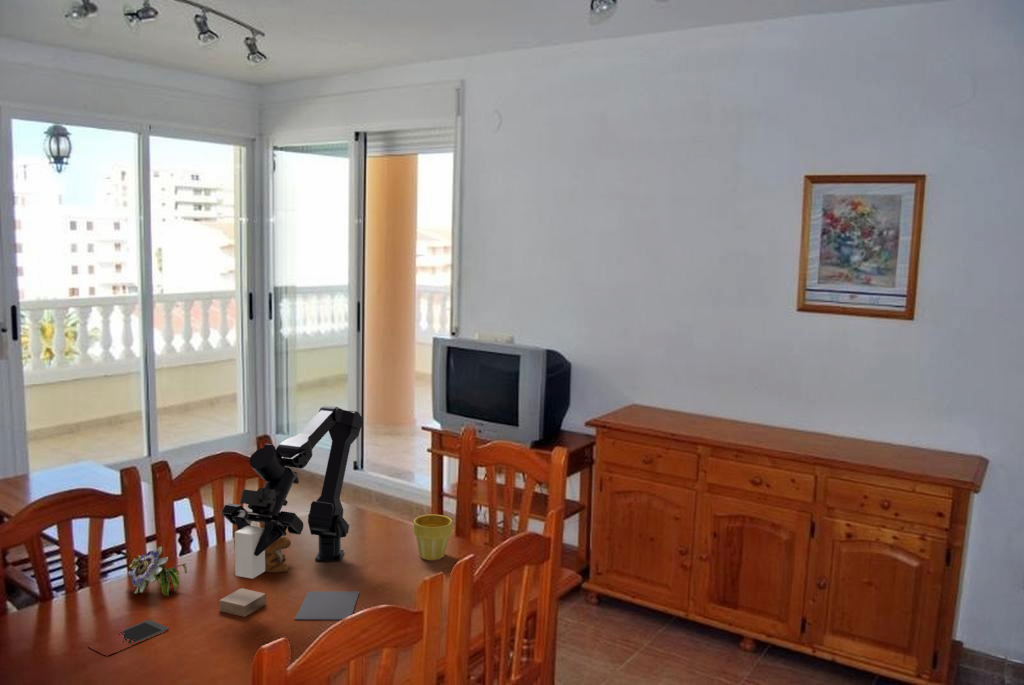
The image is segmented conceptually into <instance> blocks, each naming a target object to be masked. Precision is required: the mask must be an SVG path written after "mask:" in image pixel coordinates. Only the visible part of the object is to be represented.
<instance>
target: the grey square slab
mask: <svg viewBox="0 0 1024 685" xmlns="http://www.w3.org/2000/svg"><path fill="white" fill-rule="evenodd" d="M266 596H267V593H264V592H260V591H256V590H251V589H247V588H243V587H242V588H241V587H240V588H238V589H236V590H235V591H233V592H232V593H229V594H228V595H227V596H224V597H223V598H221V599H219V612H224V613H227V614H231V615H235V616H240V617H244V618H245V617H247V616H248V615H251V614H252V613H254V612H255V611H257V610H259V609H260V608H263V607H264V606H266V604H267V597H266Z"/></svg>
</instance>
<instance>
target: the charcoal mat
mask: <svg viewBox="0 0 1024 685" xmlns="http://www.w3.org/2000/svg"><path fill="white" fill-rule="evenodd" d="M359 595H360V591H357V590H355V591H351V590H350V591H341V590H340V591H337V590H335V591H334V590H333V591H331V590H330V591H327V590H326V591H323V590H322V591H317V590H315V591H313V590H312V591H307V594H306V595H305V597H304V599H303V601H302V604H301V605H300V608H299V609H298V611H297V613H296V615H295V617H294V620H295V621H342V620H341V619H343V618H345V617H347V616H349V615H351V614H352V615H353V612H354V610H355V607H356V604H357V601H358V598H359Z"/></svg>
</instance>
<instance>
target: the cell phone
mask: <svg viewBox="0 0 1024 685" xmlns="http://www.w3.org/2000/svg"><path fill="white" fill-rule="evenodd" d="M168 629H169V630H170V628H168V627H167V626H166V625H163V624H161V623H158V622H157V623H156V621H154V620H152V619H147V620H144V621H141V622H139V623H136V624H134V625H132V626H129V627H127V628H125V629H123V630H124V631H123V633H125V634H123V633H122V632H120V631H119V632H120V633H122V634H123V635H124V639H125V640H126V641H127V639H130V640H129V642H128V643H130V644H131V640H133V641H134V642H135V643H137V641H139V642H140V641H142V640H144V639H147V638H149V637H152V636H153V635H156V634H158V633H161V632H163V631H166V630H168ZM169 630H168V631H169ZM119 635H120V634H119ZM126 638H127V639H126ZM134 639H135V640H134ZM123 642H124V641H123Z"/></svg>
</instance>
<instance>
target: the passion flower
mask: <svg viewBox="0 0 1024 685" xmlns="http://www.w3.org/2000/svg"><path fill="white" fill-rule="evenodd" d="M163 550H164V549H163V546H158V547H157V549H156V550H154V549H153V550H149V551H148V552H145V554H142V555H140V554H137V555H136V557H134V558H133V559H132V562H131V563H130V565H129V568H130V569H129V571H127V574H128V575H129V578H130V580H131V584H132V585H133V586H132V587H133V588H136V589H135V590H134V592H133V594H135V595H138V594H139V593H141V594H142V593H144V592H146V590H147V589H148V586H149V583H150V584H152V583H153V584H154V583H155V582H156V581H157V583H158V584H159V586H160V589H161V593H162V595H163V596H166V597H169V596H170V594H169V593H170V589H171V585H170V584H172V586H173V589H174V591H177V589H178V587H179V585H180V576H179V575H180V572H179V570H177V569H176V568H179V567H183V569H184V573H185V574H187V573H188V569H187V565H186V564H187V563H181V564H180V565H176V566H174V567H173V566H172V567H169V568H166V565H165V564H166V563H168V561H169V557H168V556H163V557H160V556H161V555H162V553H163Z"/></svg>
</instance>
